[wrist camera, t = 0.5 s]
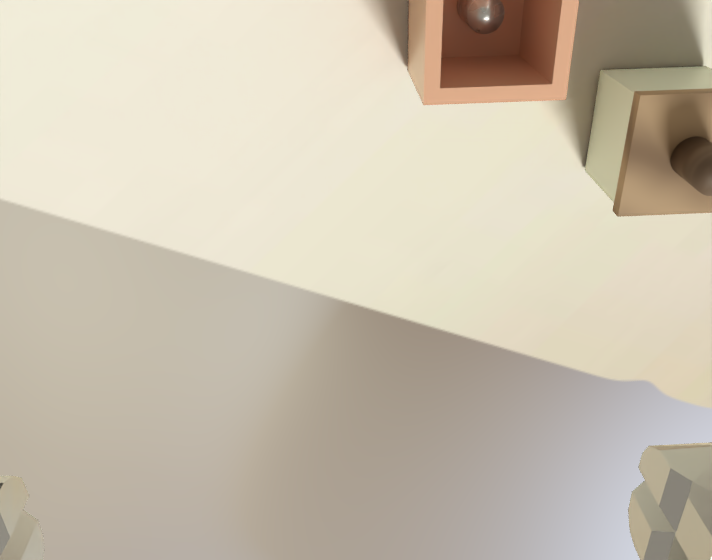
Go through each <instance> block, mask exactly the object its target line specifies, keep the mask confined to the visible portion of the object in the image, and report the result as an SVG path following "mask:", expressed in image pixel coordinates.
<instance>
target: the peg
mask: <svg viewBox="0 0 712 560" xmlns="http://www.w3.org/2000/svg"><path fill="white" fill-rule="evenodd" d="M457 11H458V14H459V16H460V17H461V19H462V20H463V21H465V22H466V23H467V24H468V25H469V26H470V27H471V28H472V29H473V30H474V31H475V32H477V33H479V34H489V33H492V32H494V31H495V30H497V29H498V28H499V26H500V25H501V24H502V22H503V19H504V6H503V4H502V2H501V1H500V0H458V2H457Z"/></svg>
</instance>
